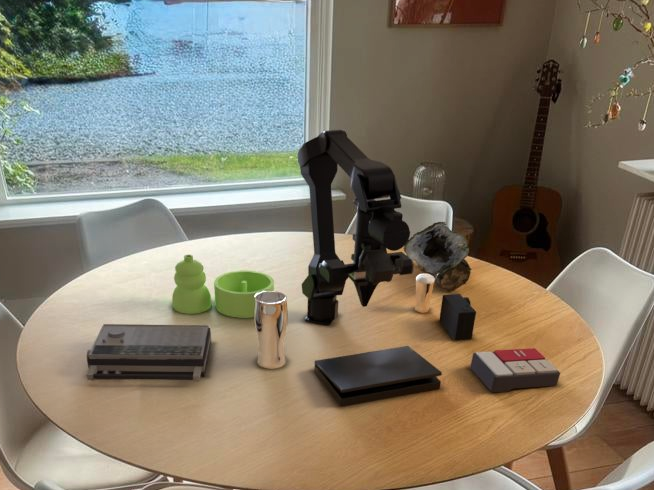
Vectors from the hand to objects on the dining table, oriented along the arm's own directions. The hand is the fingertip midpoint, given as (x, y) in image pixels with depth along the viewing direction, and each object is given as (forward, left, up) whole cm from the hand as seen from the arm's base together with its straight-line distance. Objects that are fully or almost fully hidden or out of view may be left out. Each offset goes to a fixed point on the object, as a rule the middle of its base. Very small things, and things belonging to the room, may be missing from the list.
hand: (363, 305), depth 154 cm
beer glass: (-17, -10, -12) cm, 23 cm away
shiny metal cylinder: (+8, +29, -12) cm, 32 cm away
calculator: (+33, +3, -12) cm, 35 cm away
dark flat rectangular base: (+6, -10, -12) cm, 16 cm away
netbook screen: (+6, -9, -9) cm, 15 cm away
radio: (-41, -20, -12) cm, 47 cm away
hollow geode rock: (+7, +50, -12) cm, 52 cm away
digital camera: (+18, +21, -12) cm, 30 cm away
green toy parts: (-39, +13, -12) cm, 43 cm away
